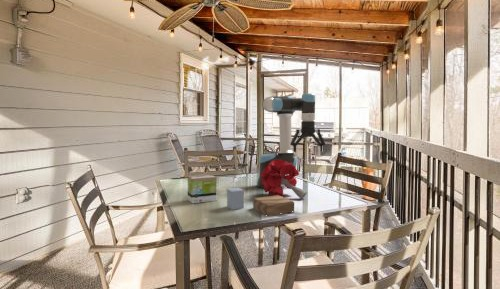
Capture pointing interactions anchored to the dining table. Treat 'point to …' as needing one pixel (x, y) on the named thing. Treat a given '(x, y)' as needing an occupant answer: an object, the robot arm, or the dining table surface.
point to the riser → (273, 205)
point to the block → (235, 198)
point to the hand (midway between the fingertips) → (307, 157)
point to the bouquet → (280, 178)
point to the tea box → (202, 188)
